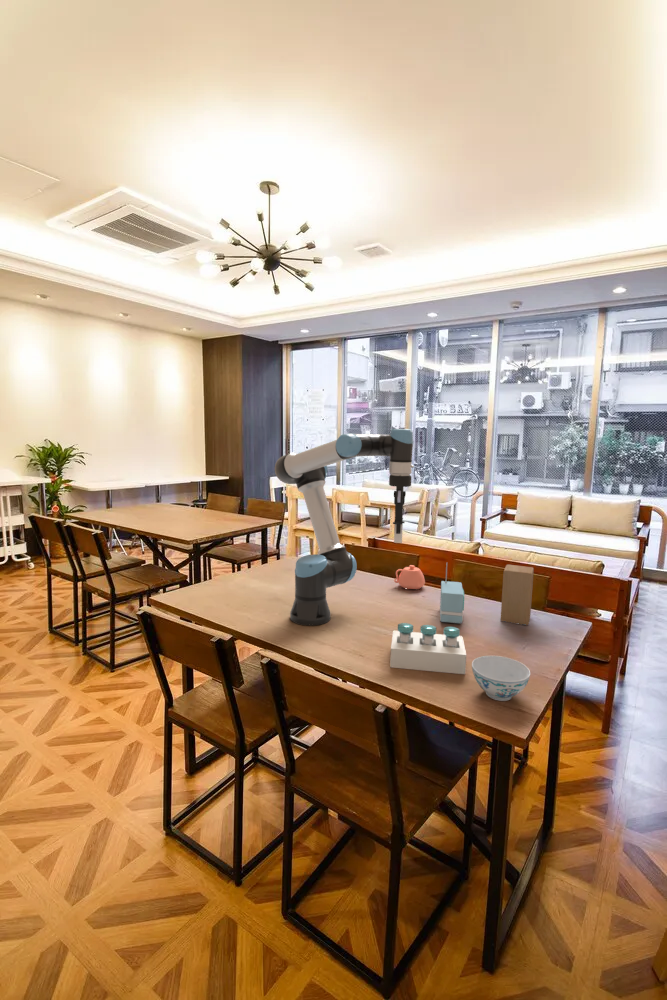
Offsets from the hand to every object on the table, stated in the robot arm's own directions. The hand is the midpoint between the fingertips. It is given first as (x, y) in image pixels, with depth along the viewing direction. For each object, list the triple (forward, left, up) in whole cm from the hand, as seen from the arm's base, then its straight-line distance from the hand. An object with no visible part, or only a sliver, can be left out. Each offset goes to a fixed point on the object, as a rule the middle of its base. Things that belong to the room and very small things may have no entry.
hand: (397, 542), depth 174 cm
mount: (+11, -21, -32) cm, 40 cm away
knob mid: (+11, -21, -31) cm, 39 cm away
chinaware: (+30, -38, -33) cm, 58 cm away
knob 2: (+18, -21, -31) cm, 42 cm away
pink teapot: (+4, +54, -33) cm, 63 cm away
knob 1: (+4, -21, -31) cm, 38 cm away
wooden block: (+45, +22, -33) cm, 60 cm away
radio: (+21, +19, -33) cm, 43 cm away
